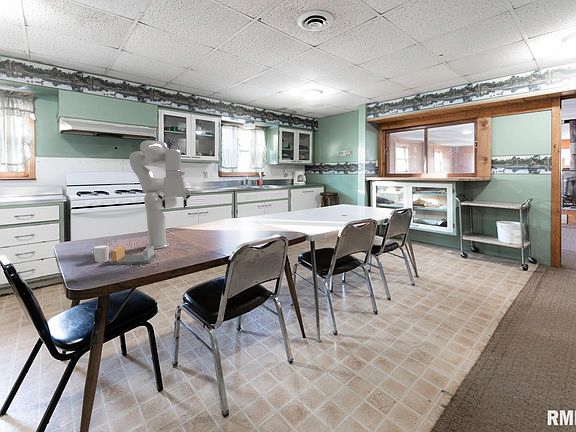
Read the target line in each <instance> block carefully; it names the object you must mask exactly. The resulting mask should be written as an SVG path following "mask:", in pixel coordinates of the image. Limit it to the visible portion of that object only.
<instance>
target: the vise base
mask: <svg viewBox="0 0 576 432" xmlns="http://www.w3.org/2000/svg"><path fill="white" fill-rule="evenodd" d="M157 257H158V256H157V254H155V249H154V246H148V247H147V248H146V247H145V249H143V251H142V254H130V255H129V254H125V256H124V257H122V258H121V259H119V260H118V261H113V262H112V260H110V261H109V263H108V265H109V266H111V265H113V266H115V265H118V266H120V265H121V266H122V265H147V264H149V265H150V264H151V263H152V262H153V261H154V260H155V259H156V258H157Z"/></svg>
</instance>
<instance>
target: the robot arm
mask: <svg viewBox="0 0 576 432" xmlns="http://www.w3.org/2000/svg"><path fill="white" fill-rule="evenodd" d="M139 149H140V151H139V150H138V151H133V152H131V153H130V154H129V165H130V167H131V170H132V171H133V172H134V174H135V175H136V177H137V178H138V181H139V183H140V187H141V190H142V191H143V193H145V195H144V196H143V197H144V198H143V201H144V205H145V212H146V225H147V243H146V244H145V249H146V248H147V247H148V246H154V250H155V249H157V250H158V249H165V248H168V247H169V246H170V244H169V242H167V235H166V234H167V233H166V215H165V214H164V212H163V211H162V209H172V208H174V207H176V206H177V204H178V201H177V197H178V198H180V197H182V199H183V208H184V209H186V207H187V205H188V204H187V201H188V200H189V198H190V197H191V195H192V193H193V191H191V190H190V189H188V188H186V187H185V180H184V177H183V176H184V175H185V172H184V171H182V153H181V150H180V149H176V148H174V149H173V148H168V145H167V143H165V142H164V141H162V140H144V141H142V142H141V143H140V145H139ZM160 165H165V168H164V170H165V176H163V177H155V176H154V173H153V171H151V169H149V168H148V167H147V166H149V167H157V166H160ZM186 193H188V194H187V195H186Z"/></svg>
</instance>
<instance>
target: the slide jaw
mask: <svg viewBox="0 0 576 432" xmlns="http://www.w3.org/2000/svg"><path fill="white" fill-rule="evenodd" d="M125 255H126V253H125V246H124V245H119V246H118V247H116V248H114V249H113V250H112V251H111V261H112V262H113V261H118V260H119V259H121V258H122V257H124V256H125Z"/></svg>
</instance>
